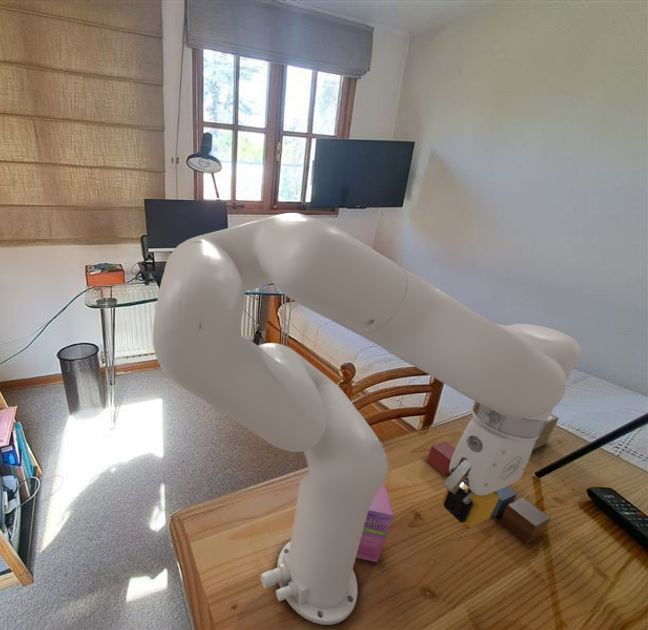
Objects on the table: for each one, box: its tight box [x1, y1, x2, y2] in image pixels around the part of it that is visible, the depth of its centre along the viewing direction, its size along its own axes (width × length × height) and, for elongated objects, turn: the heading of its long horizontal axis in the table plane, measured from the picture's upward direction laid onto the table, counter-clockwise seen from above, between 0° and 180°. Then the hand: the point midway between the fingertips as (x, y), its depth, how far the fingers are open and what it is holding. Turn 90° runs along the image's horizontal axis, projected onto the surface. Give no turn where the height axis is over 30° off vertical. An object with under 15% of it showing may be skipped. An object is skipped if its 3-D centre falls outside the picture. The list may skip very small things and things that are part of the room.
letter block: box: [441, 482, 500, 528], centre depth 52 cm, size 5×5×5 cm
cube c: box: [426, 440, 456, 476], centre depth 77 cm, size 5×5×5 cm
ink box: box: [532, 413, 560, 451], centre depth 84 cm, size 10×4×8 cm, turn 113°
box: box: [356, 482, 394, 563], centre depth 60 cm, size 10×6×12 cm, turn 168°
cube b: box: [491, 485, 518, 518], centre depth 68 cm, size 5×5×5 cm
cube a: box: [499, 497, 551, 544], centre depth 63 cm, size 5×5×5 cm
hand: (465, 507), depth 53 cm, fingers closed on letter block, 4 cm apart
